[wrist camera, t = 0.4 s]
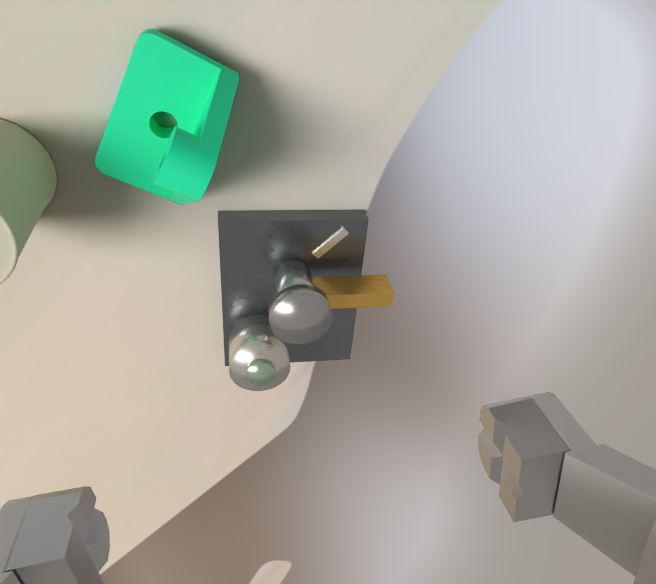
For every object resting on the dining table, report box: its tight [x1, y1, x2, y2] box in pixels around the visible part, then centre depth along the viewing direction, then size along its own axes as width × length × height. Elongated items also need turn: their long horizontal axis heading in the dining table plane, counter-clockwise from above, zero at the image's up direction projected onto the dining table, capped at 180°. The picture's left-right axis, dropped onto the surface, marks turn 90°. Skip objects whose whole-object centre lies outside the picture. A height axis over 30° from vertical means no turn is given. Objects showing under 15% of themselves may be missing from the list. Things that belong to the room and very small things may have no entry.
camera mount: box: [95, 29, 240, 205], centre depth 42 cm, size 12×8×10 cm, turn 150°
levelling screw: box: [268, 260, 393, 344], centre depth 52 cm, size 12×6×7 cm, turn 86°
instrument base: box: [218, 210, 368, 391], centre depth 55 cm, size 18×14×8 cm
